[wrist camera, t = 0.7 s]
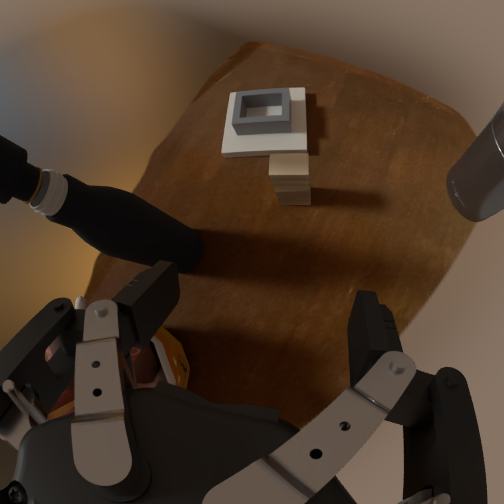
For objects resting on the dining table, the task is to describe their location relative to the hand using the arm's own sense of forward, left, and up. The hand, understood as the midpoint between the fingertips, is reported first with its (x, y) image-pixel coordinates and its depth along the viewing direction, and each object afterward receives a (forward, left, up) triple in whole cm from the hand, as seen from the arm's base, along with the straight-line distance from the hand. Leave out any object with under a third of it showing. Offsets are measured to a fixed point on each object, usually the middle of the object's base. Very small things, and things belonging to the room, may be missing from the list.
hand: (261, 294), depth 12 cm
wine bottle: (+13, -11, -23) cm, 28 cm away
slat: (-4, -13, -22) cm, 26 cm away
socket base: (-4, -26, -22) cm, 34 cm away
